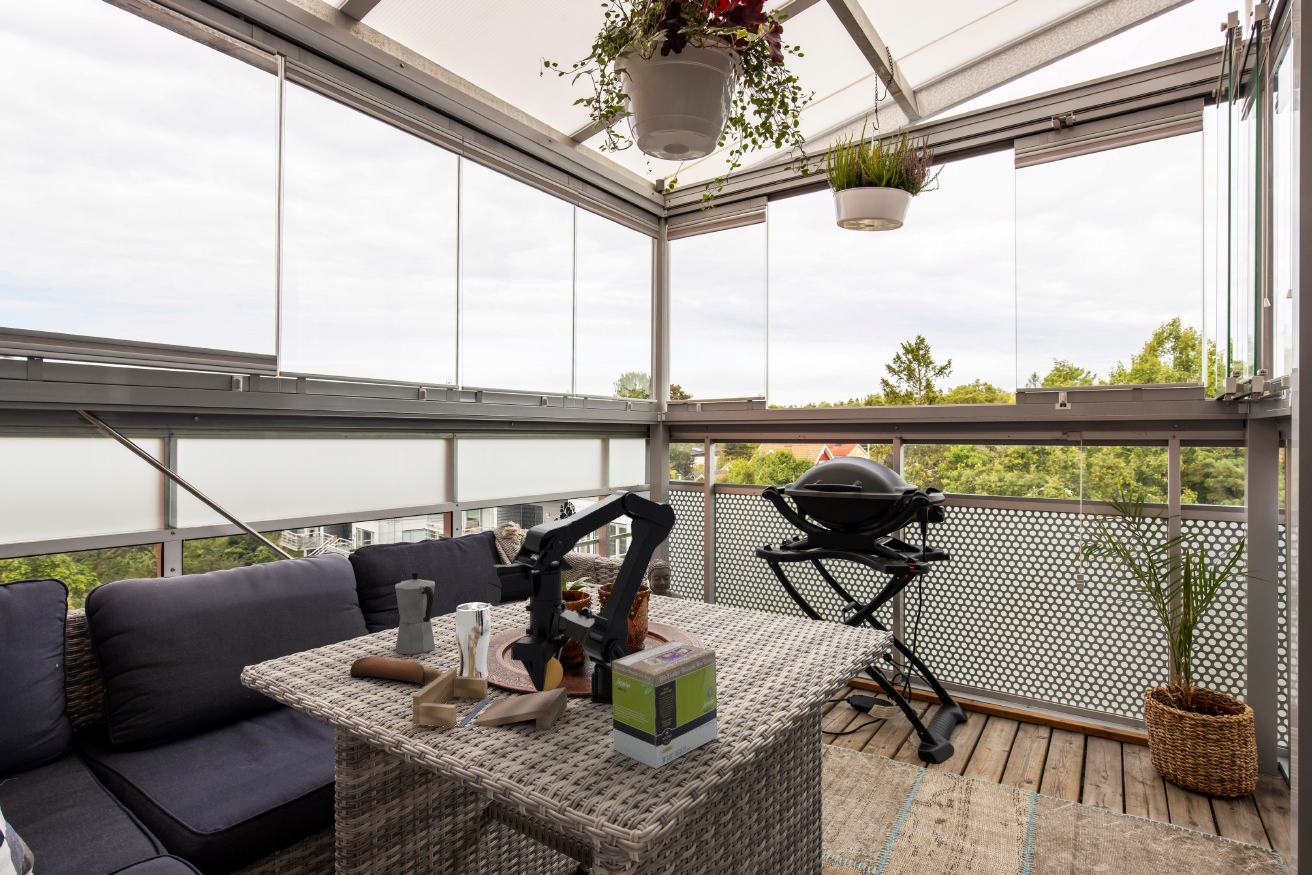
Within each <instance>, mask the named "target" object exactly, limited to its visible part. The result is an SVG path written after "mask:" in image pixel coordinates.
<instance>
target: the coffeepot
mask: <svg viewBox="0 0 1312 875" xmlns="http://www.w3.org/2000/svg"><path fill="white" fill-rule="evenodd" d="M411 576H412V579H407V580H403V581H402V580H401V581H400V582H398V583H396V584H395V585H394V586H395V588H394V589H395V594H396V595H395V596H396V601H397V602H396V603H397V608H398V609H397V610H398V615H399V624H398V625H399V626H398V630H397V638H396V644H395V653H398V654H401V655H417V654H419V655H420V654H424V653H428V652H430V651H433V650H434V649H436V645H435V638H434V632H433V626H432V619H431V615H432V610H433V604H434V600H435V599H434V598H435V588H436V583H435V581H434V580H428V579H427V580H426V579H421V578H419V571H417V570H416V571H412V572H411Z"/></svg>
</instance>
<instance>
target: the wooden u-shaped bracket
mask: <svg viewBox="0 0 1312 875" xmlns="http://www.w3.org/2000/svg"><path fill="white" fill-rule="evenodd" d="M443 673H444V674H442V675H441V676H440V677H438V678H437V679H435V680H434V681H432V682H430V683H429V684H427V685H425V686H424V687H423V688H422V689H421V690H419V691H418V692H417V693H415V694H414V695H413V696H412V725H413V724H420V725H431V726H430V727H432V725H433V726H444V727H443V728H445V727H454V726H455V725H457V727H456V726H455V727H456V728H463V727H465V726H466V724H467V723H469V721H471V719H473V717H475V716H476V715H477V714H478V713H479V712H480V711H481V710H482V709H483V708H484V707H485V706H486V705H487V704H488V703H489V702H490V701H491V700H492V699H493V698H494V697H493V696H491V697H490V696H488V680H487V678H479V677H464V676H458V668H457V667H450V668H449V669H447V670H446V671H445V672H443ZM454 697H456V698H458V697H459V698H469V697H470V698H471V699H483V700H482V701H481V702H479V704H478V705H477V706H475V708H473V709H472V710H471V712H469V713H468V714H467V715H466V716H465V717H464V718H463V719H462V720H460V722H459V723H460V724H459V723H457V704H447V703H448V702H449V701H451V700H452V699H453V698H454ZM446 702H447V703H446ZM445 703H446V704H445ZM458 725H459V726H458ZM455 727H454V728H455Z"/></svg>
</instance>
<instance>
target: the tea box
mask: <svg viewBox="0 0 1312 875" xmlns="http://www.w3.org/2000/svg"><path fill="white" fill-rule="evenodd" d="M633 653H634V654H632V655H629V656H626V657H623V658H621V659H618V660H614V661H612V687H613V703H612V736H613V739H612V744H613V749H614V750H615V752H617V753H620V754H623V755H625V756H627V757H629V758H631V759H632V760H635V761H637V762H639V763H642V764H643V765H646V766H649V767H650V768H653V769H655V770H657V769H659V768H661V767H663V766H664V765H667V764H668V763H670V762H672V761H674V760H676V759H678V758H680V757H682V756H683V755H685V754H687V753H689V752H691V751H693V750H695V749H698V748H699V747H701V746H703V745H704V744H706V743H709V742H711V741H713V740H715V739H717V738H718V715H717V714H718V706H717V705H718V702H717V700H718V697H717V696H718V694H717V693H718V692H717V662H716V661H717V657H716V655H717V654H716V651H715V650H714V651H713V650H710V649H707V648H702V647H699V646H696V645H695V646H694V645H691V644H687V643H684V642H679V641H675V639H673V640H670V641H666V642H664V643H661V644H660V643H659V644H658V645H655V646H652V647H649V648H647V649H643V650H640V651H637V652H633Z"/></svg>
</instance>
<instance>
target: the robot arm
mask: <svg viewBox="0 0 1312 875" xmlns="http://www.w3.org/2000/svg"><path fill="white" fill-rule="evenodd" d="M622 516H625V517H626V518H628V519H631V522H630V532H631V541H630V544H629V546H628V548H627V551H626V553H625V556H624V559H623V561H622V563H621V565H620V568H619V571H618V573H617V576H616V578H615V580H614V583H613V585H612V588H611V590H610V593H609V596H608V597H607V600H606V603H605V604H604V605H605V606H604V607H603V609H602V610H601V611H600V612H598V613H597V614H594V613H593V611H592V609H591V608H588V607H586V606H584V607H583V608H581V609H580V610H579V611H578V612H577V611H576V610H573V611H572V610H570V609H568V604H567V602H566V600H565V599H564V600H563V572H566V571H571V570H573V568H574V566H573V565H572V564H570V563H569V562H568V561H567V560H566V557H565V556H566V555H568V554H569V553H570V552H571V551H572V550H573V549H575V547H576V545H577V543H578V542H579V541H580V540H582V539H583V538H584V537H586V536H588V535H590V534H592V533H594V532H595V531H597V530H599V529H601V528H602V527H604V526H606V525H608V524H609V523H611V522H613V521H616V520H617V519H619V518H621V517H622ZM676 520H677V516H676V514H675V510H674V509H673V507H672V506H671V505H670V504H668V503H665V502H656V501H652V500H650V499H647V498H645V497H642V496H640V495H639V494H636V493H635V492H633V491H629V490H616V491H613V492H612V493H611V495H608V496H606V497H604V498H602V499H601V500H599V501H597V502H595V503H593V504H591V505H589V506H587V507H586V508H583V509H581V510H579V511H577V512H576V513H574V514H572V515H570V516H568V517H565V518H563V519H562V518H561V519H558V520H557V519H556V520H551V521H546V522H544V523H541V524H537V525H534V526H531V527H530V528H529V529H528V530H527V531H526V535H525V538H524V542H522V544H521V547H520V548H519V549H518V552H517V553H516V555H515V556H514V558H513V560H512V561H511V563H510V564H494V565H492V566H491V573H490V574H489V575H488V577H487V580H486V581H487V582H486V583H485V593H486V597H487V601H488V602H489V604H490V605H491V606H492V607H494V608H495V607H502V606H507V605H512V604H517V603H518V604H519V603H522V602H523V603H524V602H526V601H528V599H529V603H527V604H526V605H525V612H529V626H528V627H526V628H525V635H526V636H522V637H521V638H520V639H519V640H517V641H516V642H515V643H514V644H513V645H512V646H511V648H510V659H511V660H512V661H519V662H520V661H521V664H522V665H523V667H524V669H525V670H526V672H527V674H528V677H529V676H530V678H531V680H532V682H533V684H534V686H535V687H534V686H533V687H534V689H535V690H536V692H543V690H544V685H545V678H546V671H547V664H548V661H550V660H551V659H552V658H553V657H554V658H556V659H557V660H558V661H559V662H560V658H561V655H562V654H561V653H562V650H563V647H564V646H565V645H566V644H568V642H569V641H570V640H574V641H575V643H579V644H581V645H582V646H581V647H582V650H583V651H584V652H585V654H586V655H587V657H588V661H589V662H590V663H594V666H593V671H592V672H591V674H590V676H591V678H590V679H591V682H590V685H591V686H590V688H591V690H590V692H591V695H592V697H591V702H594V703H595V702H596V703H597V702H598V703H610V704H613V687H612V661H614V660H618V659H621V658H623V657H626V656H629V655H632V654H634V653H635V652H633V651H632V650H631V649H630V648H629V647H628V646H627V643H628V639H629V635H630V633H629V622H628V621H629V615H630V614H631V613H630V612H631V610H632V607H633V606H634V603H635V600H636V598H637V595H638V593H639V590H640V588H641V585H642V582H643V581H644V578H645V575H646V572H647V570H648V567H649V565H650V562H651V560H652V557H653V555H654V552H655V550H656V549H657V548H658V547H660V545H661V544H662V543H664V541H666V539H668V537H669V535H670V533H671V531H672V529H673V528H674V527H675V524H676ZM533 557H534V558H533ZM535 558H536V559H535ZM528 635H529V636H528Z"/></svg>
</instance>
